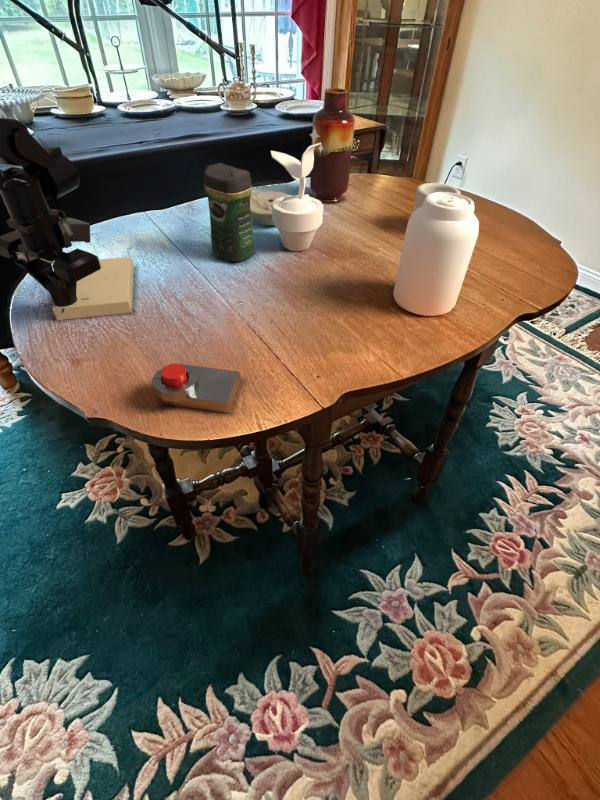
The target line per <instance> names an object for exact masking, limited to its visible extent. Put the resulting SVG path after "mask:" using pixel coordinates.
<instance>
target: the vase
mask: <svg viewBox="0 0 600 800" xmlns="http://www.w3.org/2000/svg"><path fill="white" fill-rule="evenodd" d="M323 94H324V95H323V107H322V108H320V109H319V110H317V112H315V114H314V116H313V118H312V132H311V134H312V133H313V131H314V127H315V129H316V133H317V135H319V136H320V137H317V138H316V139H315V142H314V144H318V143H321V144H320V145H321V146H322V148H324V149H322V150H321V152H320V150H319V147H320V145H317V146H315V148H314V151H313V153H314V163H313V169H312V170H311V172H310V173H309V176H310V177H309V188H310V190H311V191H312V192H313V193H312V197H313V198H315V199H317V200H319V201H321V203H322V204H338V203H340V202H343V200H344V195H343V194H346V192H347V191H348V189H349V182H350V180H349V179H350V174H351V173H350V171H351V162H352V154H353V143H354V135H355V123H356V120H355V116H354V115H353V113H352V112H350V111H349V110H348V109H347V104H348V90H347V89H345V88H339V87H328V88H325V89H324V93H323ZM311 145H313V139H312V138H311Z"/></svg>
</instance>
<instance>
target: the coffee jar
mask: <svg viewBox="0 0 600 800" xmlns="http://www.w3.org/2000/svg"><path fill="white" fill-rule="evenodd" d="M203 178H204V179H203V181H204V185H203V186H204V191H205V193H206V197H207V201H208V211H209V223H210V242H211V243H210V244H211V251H212V254H214V255H215V256H216V257H219V258H221V259H223V260H225V261H228V262H231V263H238V262H244V261H247V260H249V259H251V258H252V257H253V256H254V255H255V253H256V251H255V238H254V231H253V224H252V223H253V221H252V216H251V210H250V196H251V192H253V186H252V178H251V173H250V172H249V171H248V170H246V169H242V168H238V167H234V166H231V165H228V164H224V163H222V162H218V163H215V164H211V165H208V166H206V168H205V170H204V173H203Z"/></svg>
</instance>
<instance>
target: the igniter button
mask: <svg viewBox="0 0 600 800" xmlns="http://www.w3.org/2000/svg"><path fill="white" fill-rule="evenodd" d="M181 364H182V363H170V364H167V365H165V366H164V367H162V368H163V369H162V368H161V369H162V371H161V375H162V378H163V382H164V384H165V386H168V387H173V388H174V387H178V386H182V385H183V384H185V383H186V381H187V374H186V369H185V367H184V366H183V365H181Z"/></svg>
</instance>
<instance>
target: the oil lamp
mask: <svg viewBox="0 0 600 800" xmlns="http://www.w3.org/2000/svg"><path fill="white" fill-rule="evenodd" d="M284 196H291V194H289V193H285V192H281V191H252V192H251V196H250V210H251V218H252V219H254V221H255V222H257V223H258V224H261V225H263V226H274V224H273V221H272V203H273V202H274V201H275V200H276V199H277V198H280V197H284Z"/></svg>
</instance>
